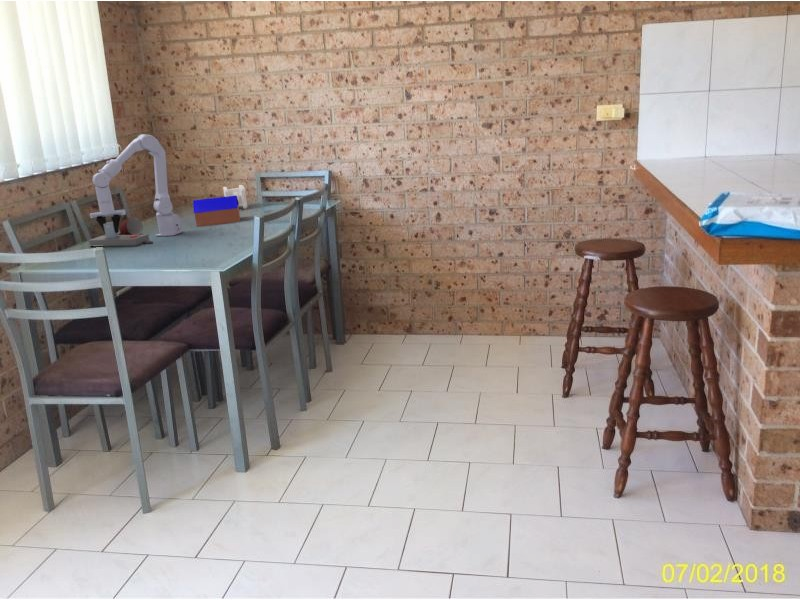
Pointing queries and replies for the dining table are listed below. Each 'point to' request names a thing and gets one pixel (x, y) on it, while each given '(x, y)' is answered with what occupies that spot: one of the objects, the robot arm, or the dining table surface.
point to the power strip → (122, 240)
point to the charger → (110, 230)
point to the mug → (131, 227)
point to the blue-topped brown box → (216, 210)
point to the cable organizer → (240, 195)
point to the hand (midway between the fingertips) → (111, 232)
